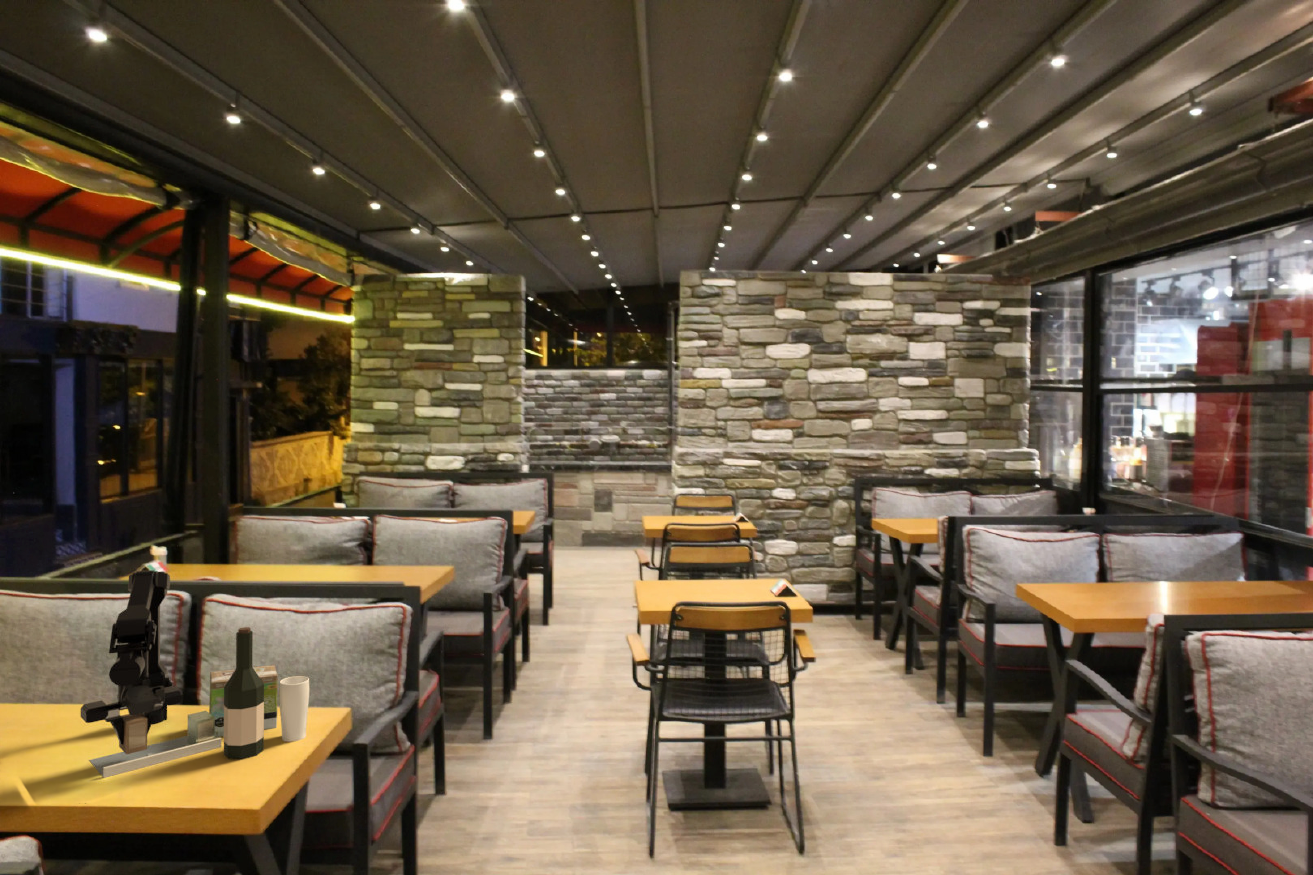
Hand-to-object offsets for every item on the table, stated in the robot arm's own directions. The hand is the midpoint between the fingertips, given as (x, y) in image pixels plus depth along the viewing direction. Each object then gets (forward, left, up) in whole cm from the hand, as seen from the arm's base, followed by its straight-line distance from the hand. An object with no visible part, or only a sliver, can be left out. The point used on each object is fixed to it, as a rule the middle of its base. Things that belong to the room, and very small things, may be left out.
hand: (133, 741), depth 182 cm
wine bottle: (-19, +12, -6) cm, 23 cm away
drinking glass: (-31, +11, -6) cm, 34 cm away
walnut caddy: (0, 0, -2) cm, 2 cm away
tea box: (-25, -5, -6) cm, 27 cm away
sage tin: (-14, 0, -5) cm, 15 cm away
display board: (-5, -2, -6) cm, 8 cm away
